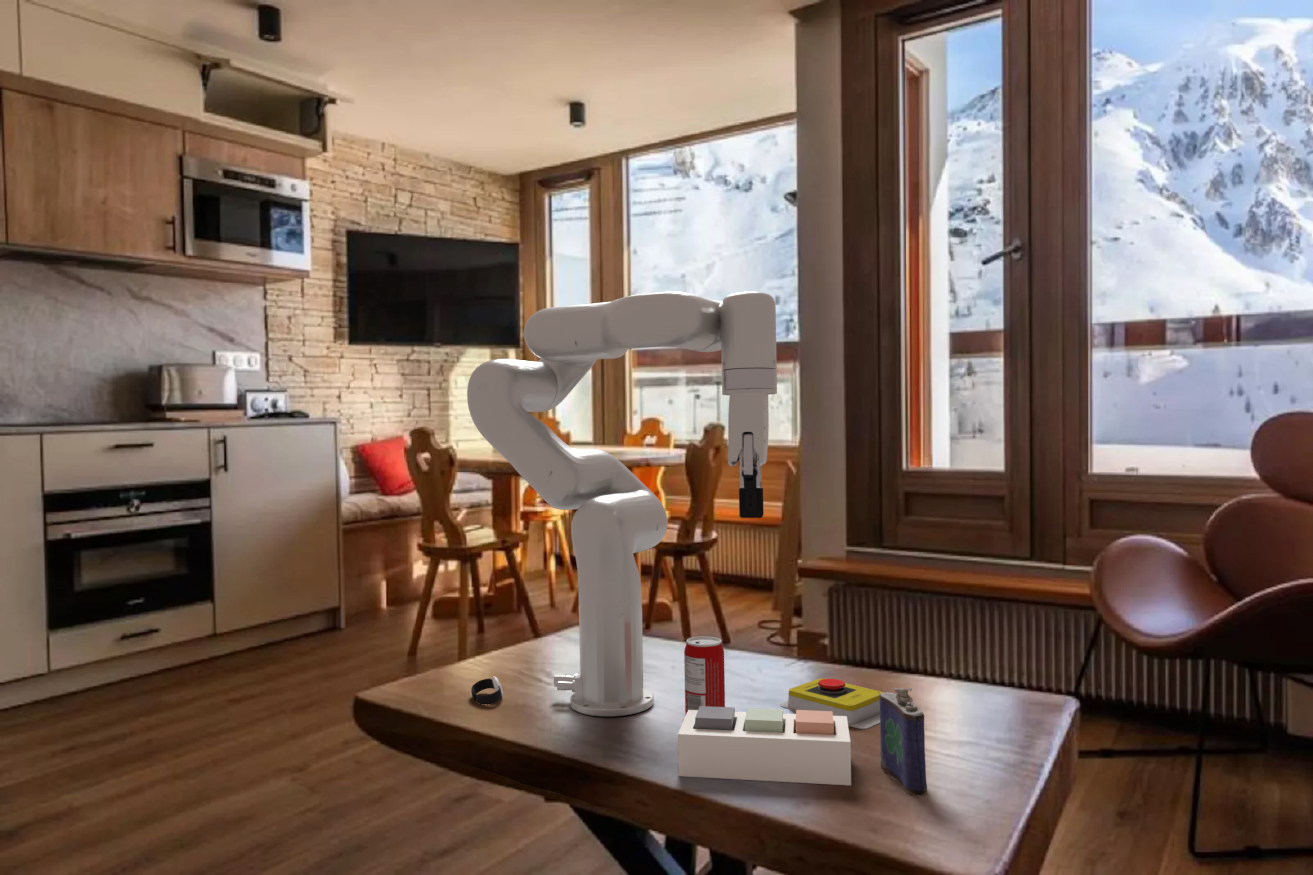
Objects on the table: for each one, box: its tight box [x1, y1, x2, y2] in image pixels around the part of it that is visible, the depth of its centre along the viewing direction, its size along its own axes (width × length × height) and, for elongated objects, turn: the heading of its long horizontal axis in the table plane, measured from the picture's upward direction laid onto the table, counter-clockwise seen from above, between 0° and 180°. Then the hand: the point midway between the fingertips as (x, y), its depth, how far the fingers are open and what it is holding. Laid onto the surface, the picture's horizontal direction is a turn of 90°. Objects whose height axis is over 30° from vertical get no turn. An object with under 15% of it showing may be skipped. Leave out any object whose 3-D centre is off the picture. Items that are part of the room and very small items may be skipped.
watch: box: [470, 675, 504, 706], centre depth 132 cm, size 8×5×4 cm, turn 26°
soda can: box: [683, 636, 726, 716], centre depth 119 cm, size 6×6×12 cm
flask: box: [879, 687, 928, 797], centre depth 99 cm, size 9×3×11 cm, turn 8°
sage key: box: [745, 707, 784, 733], centre depth 103 cm, size 4×4×4 cm
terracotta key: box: [795, 710, 834, 735], centre depth 102 cm, size 4×4×4 cm
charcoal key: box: [695, 706, 736, 731], centre depth 104 cm, size 4×4×4 cm
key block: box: [677, 710, 852, 786], centre depth 103 cm, size 20×9×5 cm, turn 80°
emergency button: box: [779, 677, 884, 730], centre depth 124 cm, size 9×4×15 cm
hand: (751, 517), depth 116 cm, fingers closed
